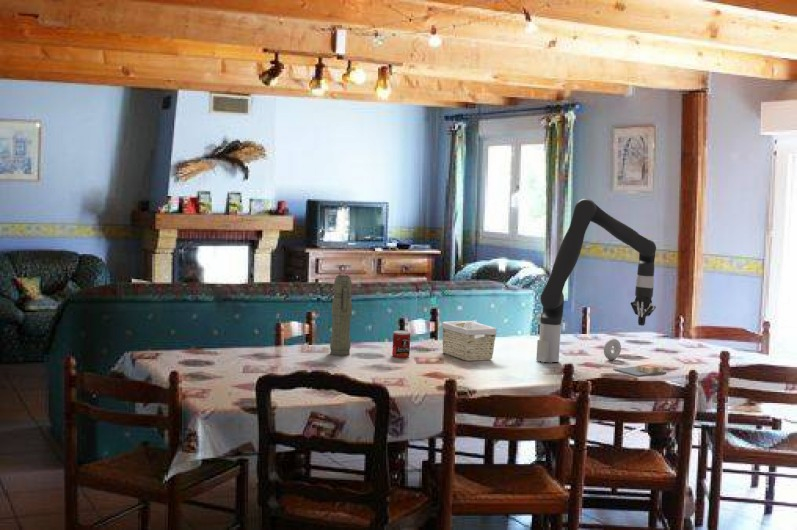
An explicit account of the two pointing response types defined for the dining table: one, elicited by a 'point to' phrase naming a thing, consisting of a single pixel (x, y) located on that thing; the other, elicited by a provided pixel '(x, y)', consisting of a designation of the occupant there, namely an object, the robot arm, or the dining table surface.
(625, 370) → the mat
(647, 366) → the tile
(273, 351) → the dining table surface
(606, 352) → the donut
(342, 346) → the grey-green tall rounded block
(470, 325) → the storage basket
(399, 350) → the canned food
